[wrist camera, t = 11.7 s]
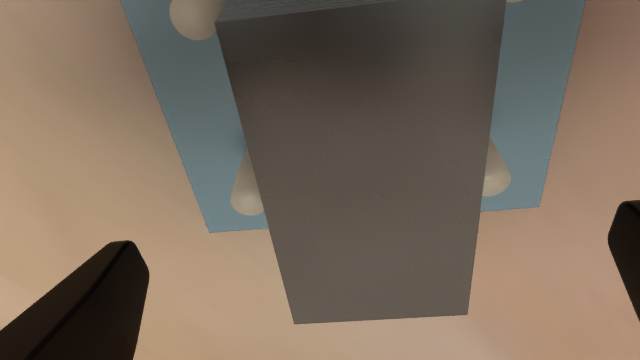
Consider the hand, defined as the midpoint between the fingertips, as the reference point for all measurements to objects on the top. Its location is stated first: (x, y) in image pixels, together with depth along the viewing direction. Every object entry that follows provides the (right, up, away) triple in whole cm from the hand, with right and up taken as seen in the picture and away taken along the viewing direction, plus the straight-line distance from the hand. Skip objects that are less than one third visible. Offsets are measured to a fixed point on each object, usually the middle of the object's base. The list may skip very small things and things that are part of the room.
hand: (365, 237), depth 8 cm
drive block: (0, +5, +6) cm, 8 cm away
